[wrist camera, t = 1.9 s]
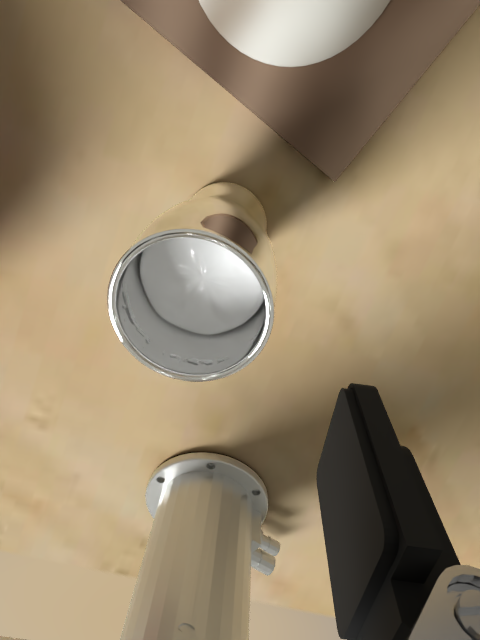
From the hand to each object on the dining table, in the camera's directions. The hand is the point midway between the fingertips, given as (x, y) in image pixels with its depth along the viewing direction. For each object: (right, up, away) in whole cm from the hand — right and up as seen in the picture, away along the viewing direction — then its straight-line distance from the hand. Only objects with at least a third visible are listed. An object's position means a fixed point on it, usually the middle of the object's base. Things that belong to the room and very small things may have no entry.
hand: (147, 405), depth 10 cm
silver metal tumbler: (+1, +9, +19) cm, 21 cm away
